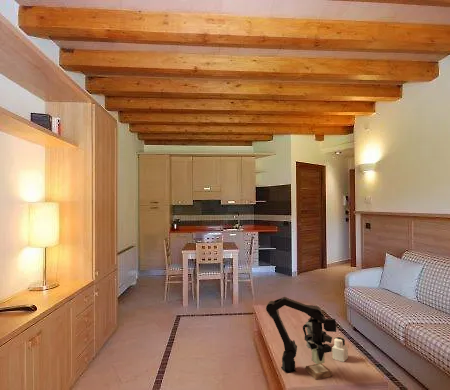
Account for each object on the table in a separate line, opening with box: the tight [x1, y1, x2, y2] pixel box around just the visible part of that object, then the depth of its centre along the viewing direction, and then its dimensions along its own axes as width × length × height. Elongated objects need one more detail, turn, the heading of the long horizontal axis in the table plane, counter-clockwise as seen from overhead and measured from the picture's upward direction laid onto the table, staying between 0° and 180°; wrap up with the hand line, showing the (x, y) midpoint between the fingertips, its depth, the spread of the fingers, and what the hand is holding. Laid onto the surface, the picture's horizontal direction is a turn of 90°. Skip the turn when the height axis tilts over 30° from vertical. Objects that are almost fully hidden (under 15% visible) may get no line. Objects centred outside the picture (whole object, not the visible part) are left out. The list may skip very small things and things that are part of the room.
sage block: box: [310, 348, 326, 364], centre depth 176 cm, size 5×5×6 cm
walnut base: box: [305, 363, 333, 380], centre depth 175 cm, size 10×10×3 cm
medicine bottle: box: [331, 336, 349, 363], centre depth 192 cm, size 7×7×12 cm
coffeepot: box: [302, 320, 318, 349], centre depth 210 cm, size 15×9×18 cm, turn 119°
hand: (318, 358), depth 176 cm, fingers closed on sage block, 5 cm apart
